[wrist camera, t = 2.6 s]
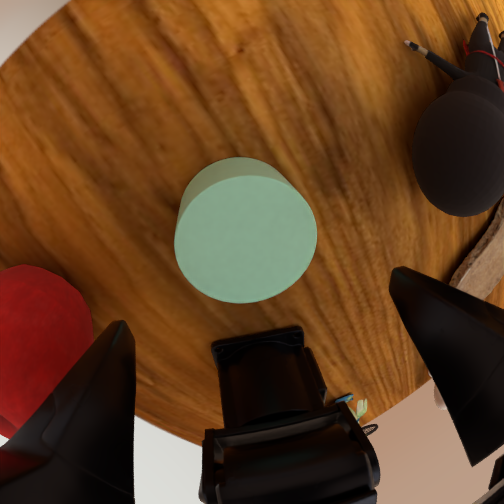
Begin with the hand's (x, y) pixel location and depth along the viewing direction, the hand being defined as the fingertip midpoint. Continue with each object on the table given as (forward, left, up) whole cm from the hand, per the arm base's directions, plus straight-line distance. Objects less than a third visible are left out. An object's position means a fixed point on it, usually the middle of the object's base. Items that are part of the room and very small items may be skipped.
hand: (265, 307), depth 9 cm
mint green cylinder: (0, 0, -7) cm, 7 cm away
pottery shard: (+20, -8, -7) cm, 23 cm away
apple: (-13, -3, -7) cm, 15 cm away
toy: (+14, +7, -7) cm, 17 cm away
